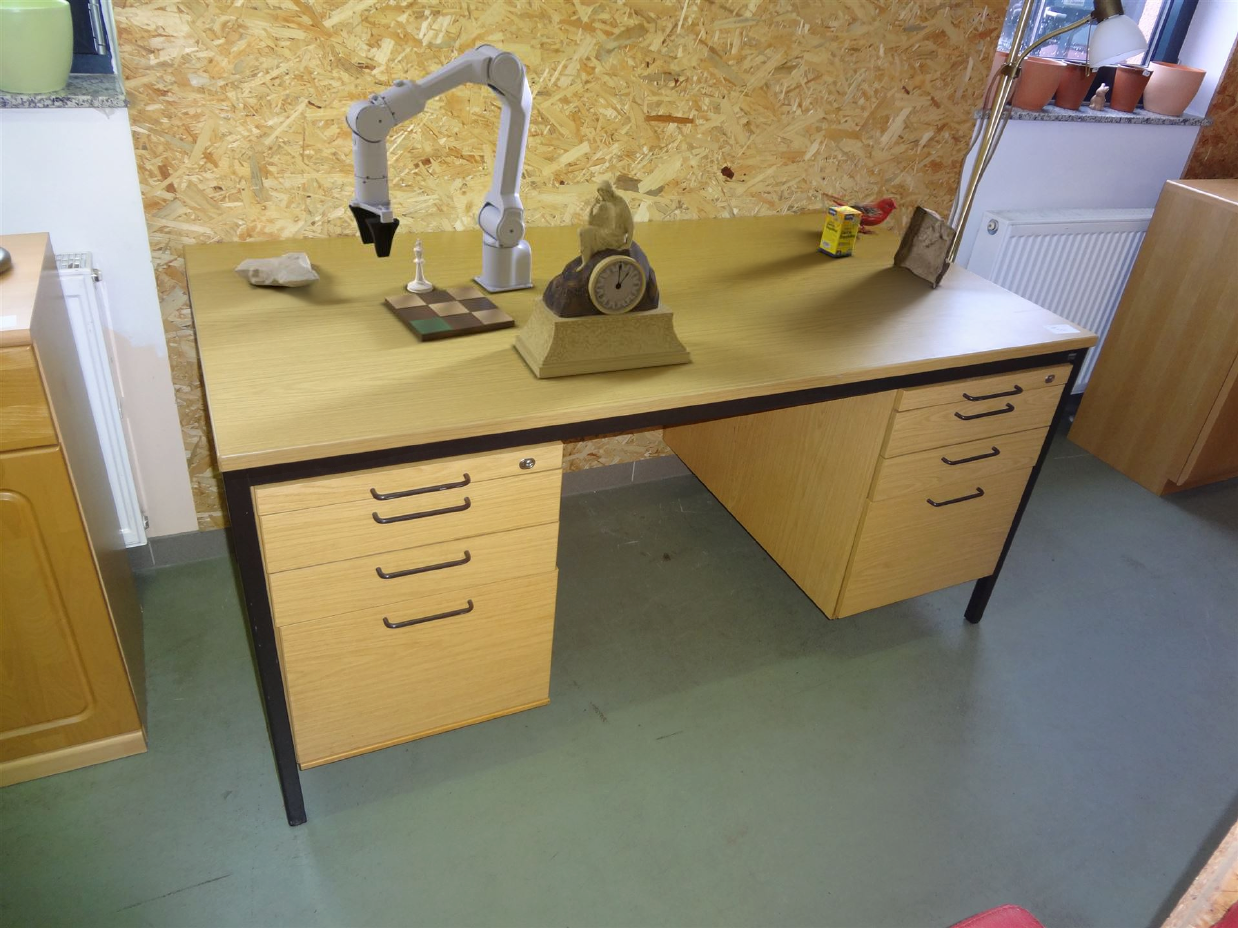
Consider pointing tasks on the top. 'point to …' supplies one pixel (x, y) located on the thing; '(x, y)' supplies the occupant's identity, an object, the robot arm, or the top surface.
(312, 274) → the rock
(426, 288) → the chess piece
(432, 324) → the game board
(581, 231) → the decorative clock
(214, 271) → the top surface
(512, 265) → the robot arm
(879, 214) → the decorative bird figurine
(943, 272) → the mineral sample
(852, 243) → the supplement box
